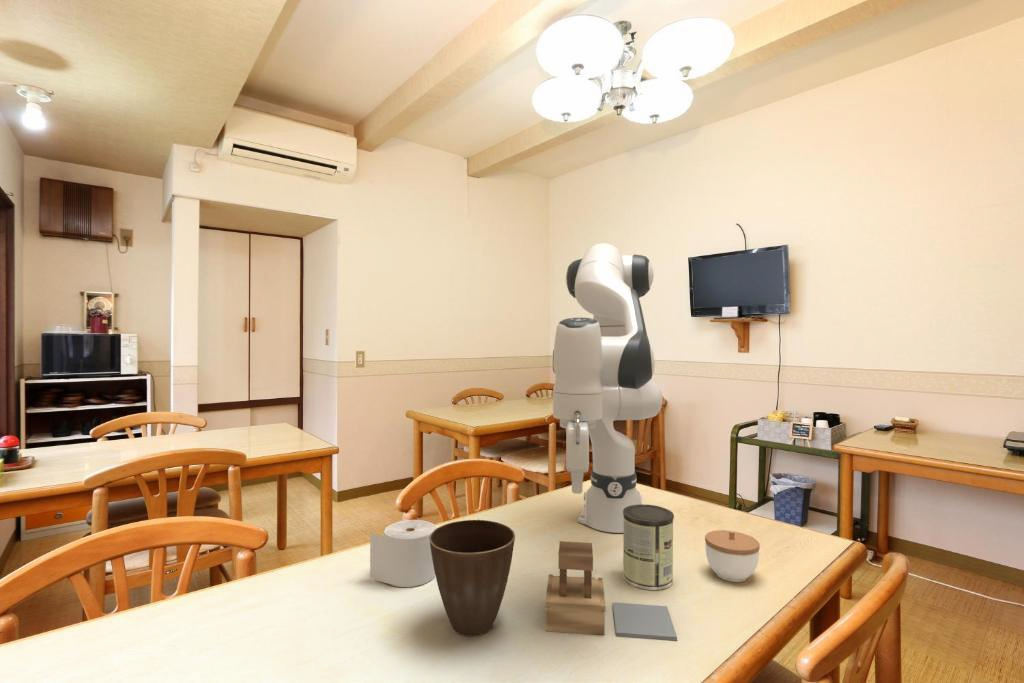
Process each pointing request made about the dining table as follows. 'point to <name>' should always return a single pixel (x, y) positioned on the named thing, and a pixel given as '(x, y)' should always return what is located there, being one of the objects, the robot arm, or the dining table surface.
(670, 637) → the mat
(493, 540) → the plant pot
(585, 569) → the tan pegged block
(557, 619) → the tan wooden pedestal
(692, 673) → the dining table surface
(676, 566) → the dining table surface
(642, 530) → the coffee can
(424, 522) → the toilet tissue
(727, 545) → the lidded jar
